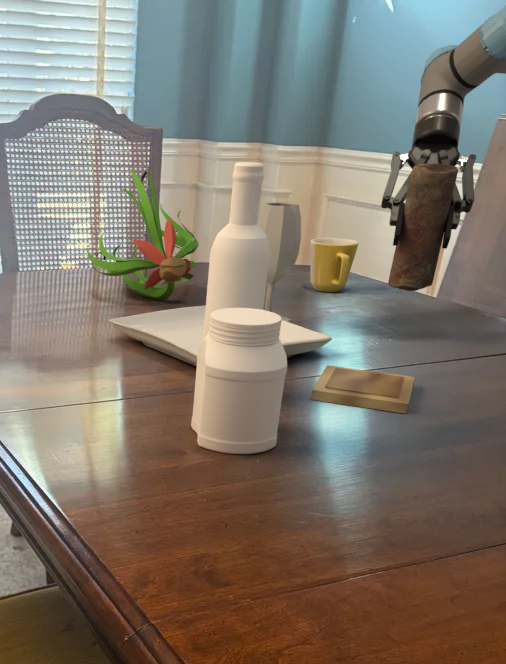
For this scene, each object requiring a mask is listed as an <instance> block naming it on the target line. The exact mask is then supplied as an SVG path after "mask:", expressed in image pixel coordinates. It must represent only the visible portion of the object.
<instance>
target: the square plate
mask: <svg viewBox="0 0 506 664" xmlns="http://www.w3.org/2000/svg"><path fill="white" fill-rule="evenodd" d="M205 309H206V304H205V305H197V306H186V307H177V308H172V309H163V310H157V311H151V312H145V313H144V312H143V313H139V314H138V313H137V314H134V315H133V314H132V315H128V316H122V317H115V318H110V319H109V320H108V322H110V323H111V324H112V326H114V327H115V328H116V330H118V331H119V333H122V334H123V335H125V336H127V337H129V338H130V339H134V340H135V341H138V342H142V344H143V345H144V346H146V347H148V348H151V349H153V350H155V351H158V352H160V353H163V354H165V355H168V356H170V357H173V358H175V359H178V360H180V361H182V362H185V363H187V364H188V365H189V364H190V365H192V366H194V367H197V350H198V347H199V344H200V343H201V342H202V340H203V333H204V321H205ZM280 329H281V330H280V336H279V338H280V341H281V343H282V345H283V348H284V350H285V353H286V357H287V359H289V358H290V357H293V356H295V355H299V354H304V353H308V352H312V351H315V350H318V349H320V348H322V347H324V346H325V345H327V344H328V343H329V342H331V341H332V340H333V338H332V337H331V336H329V335H327V334H323V333H320V332H317V331H315V330H311V329H310V328H306V327H303V326H300V325H297V324H295V323H292V322H291V323H289V322H287V321H284V320H282V321H281V326H280Z"/></svg>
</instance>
